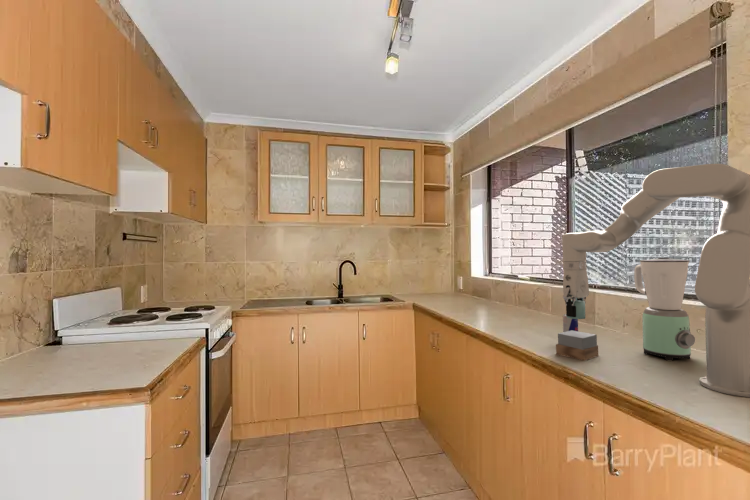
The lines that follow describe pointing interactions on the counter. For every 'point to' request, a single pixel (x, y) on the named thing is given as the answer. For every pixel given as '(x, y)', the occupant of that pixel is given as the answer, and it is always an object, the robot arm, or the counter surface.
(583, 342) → the tower top block
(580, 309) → the teal cylinder
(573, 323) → the energy drink
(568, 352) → the tower base block
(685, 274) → the mint green blender
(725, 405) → the counter surface
